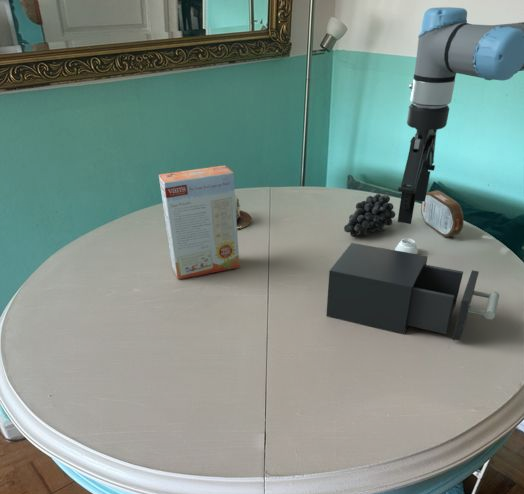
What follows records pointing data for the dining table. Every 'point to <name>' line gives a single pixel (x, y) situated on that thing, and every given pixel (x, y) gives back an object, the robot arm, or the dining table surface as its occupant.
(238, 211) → the skull
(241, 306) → the dining table surface
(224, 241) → the cracker box
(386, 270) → the drawer cabinet casing
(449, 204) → the tin
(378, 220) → the fruit
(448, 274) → the grey drawer
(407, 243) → the white jar
